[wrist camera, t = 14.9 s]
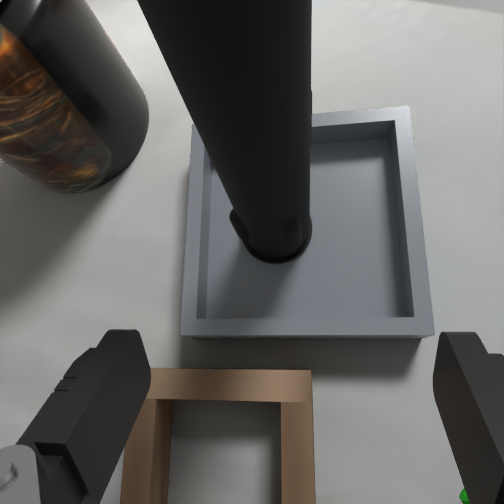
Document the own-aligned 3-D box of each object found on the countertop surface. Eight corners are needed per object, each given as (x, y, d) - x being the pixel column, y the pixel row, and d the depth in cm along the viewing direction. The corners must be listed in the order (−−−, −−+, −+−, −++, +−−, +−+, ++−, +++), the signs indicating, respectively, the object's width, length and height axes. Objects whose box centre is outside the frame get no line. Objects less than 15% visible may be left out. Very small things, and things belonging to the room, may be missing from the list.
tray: (400, 130, 30) (409, 105, 27) (422, 338, 26) (435, 334, 23) (203, 146, 32) (192, 124, 29) (194, 338, 28) (180, 335, 25)
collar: (311, 369, 26) (310, 370, 23) (317, 569, 23) (317, 598, 20) (150, 367, 28) (131, 368, 25) (137, 553, 25) (113, 578, 22)
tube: (-99, -316, 4) (482, -583, 3) (-147, -498, 5) (240, -680, 5) (255, 282, 27) (330, 248, 27) (225, 213, 29) (296, 181, 29)
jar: (164, 164, 32) (41, 3, 18) (32, 212, 33) (-188, 94, 19) (135, 53, 36) (13, -155, 22) (16, 98, 37) (-177, -73, 22)
